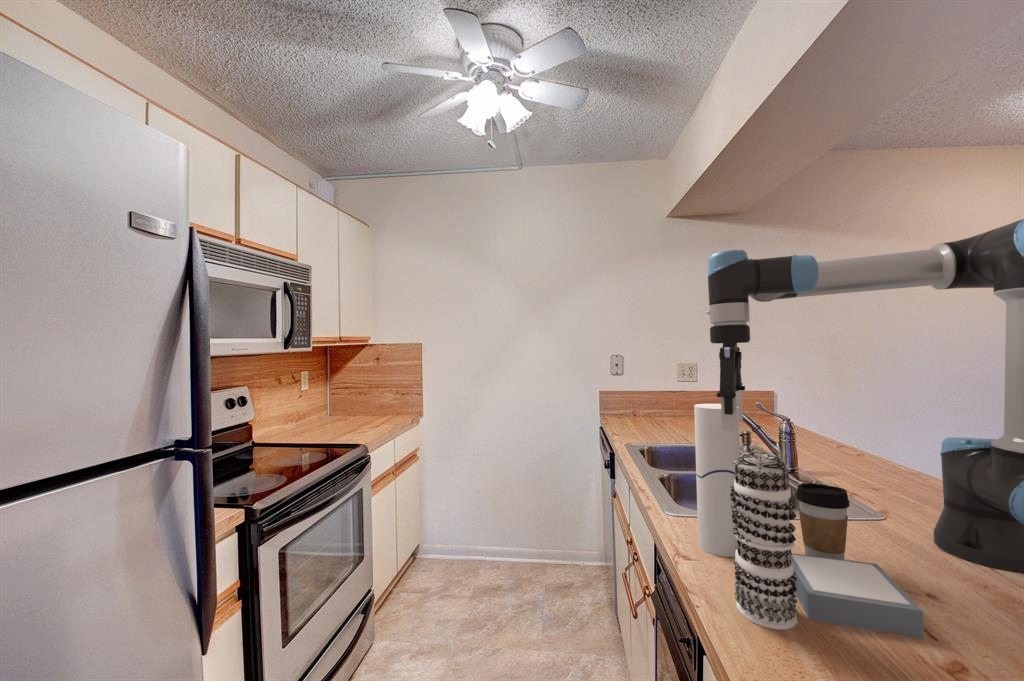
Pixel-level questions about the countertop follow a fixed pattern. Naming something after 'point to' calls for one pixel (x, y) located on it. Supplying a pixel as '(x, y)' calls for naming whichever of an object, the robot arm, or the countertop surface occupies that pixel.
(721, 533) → the container
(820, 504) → the coffee cup
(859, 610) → the podium
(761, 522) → the decorative candle
